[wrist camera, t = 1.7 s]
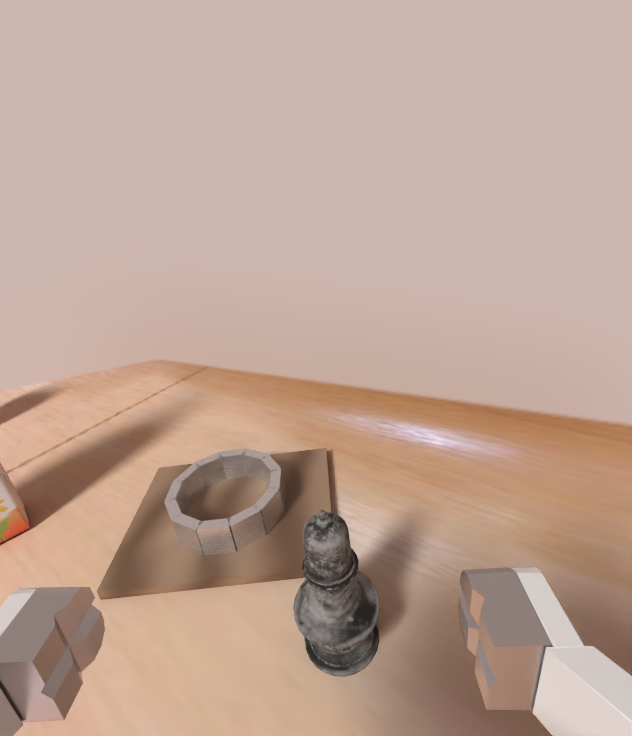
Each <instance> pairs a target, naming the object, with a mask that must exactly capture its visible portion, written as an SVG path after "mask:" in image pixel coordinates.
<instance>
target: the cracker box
mask: <svg viewBox="0 0 632 736" xmlns="http://www.w3.org/2000/svg"><path fill="white" fill-rule="evenodd" d="M28 528H30V525H29V521H28V518H27V515H26V511H25V507H24V503H23V501H22V500H21V498H20V496H19V494H18V493H17V491H16V489H15V487H14V486H13V484H12V482H11V481H10V479H9V477H8V475H7V473H6V472H5V470H4V468H3V466H2V465H1V463H0V543H2V542H4V541H6V540H8V539H10V538H12V537H13V536H15V535H17V534H19V533H21V532H23V531H25V530H27V529H28Z"/></svg>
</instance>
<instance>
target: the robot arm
mask: <svg viewBox="0 0 632 736" xmlns="http://www.w3.org/2000/svg"><path fill="white" fill-rule="evenodd" d="M460 584H461V587H462V590H463V594H462V595H461V596H460V597H459V617H460V624H461V629H462V633H463V637H464V640H465V644H466V647H467V649H468V650H469V651H470V652H471V653H472V654H473V655H474V656H475V669H474V673H475V676H476V679H477V682H478V685H479V688H480V691H481V694H482V698H483V701H484V704H485V707H486V710H533V714H534V715H535V716H536V717H537V719H538V720H539V721H540V722H541V723H542V724H543V725H544V727H545V728H546V729H547V730H548V731H549V732H550V734H551V735H552V736H632V676H631V675H630V674H629V673H628V672H626V671H625V670H624V669H622V668H621V667H620V666H618V665H617V664H616V663H615V662H613V661H612V660H611V659H609V658H608V657H607V656H606V655H604V654H603V653H602V652H600V651H599V650H598V649H597V648H595V647H594V646H585V645H584V644H583V642H582V640H581V638H580V637H579V635H578V633H577V632H576V630H575V628H574V626H573V625H572V623H571V621H570V620H569V618H568V616H567V614H566V613H565V611H564V609H563V608H562V606H561V604H560V602H559V601H558V599H557V597H556V596H555V594H554V592H553V590H552V589H551V587H550V585H549V584H548V582H547V580H546V578H545V577H544V575H543V573H542V572H541V571H540V570H539V569H538V568H537V567H524V568H511V569H510V568H494V569H476V570H463V571H462V573H461V579H460ZM94 599H95V597H94V595H93V593H92V591H91V589H90V587H55V588H20V589H18V590H17V591H15V592H14V593H12V594H11V595H10V596H9V597H8V598H7V600H6V601H5V602H4V603H3V605H2V606H1V607H0V736H13V735H14V734H15V733H16V732H17V731H18V730H19V729H20V728H21V727H22V726H23V723H22V722H36V721H53V720H65V718H66V716H67V714H68V712H69V710H70V708H71V706H72V704H73V702H74V700H75V698H76V696H77V694H78V692H79V690H80V688H81V686H82V684H83V679H82V671H83V670H84V669H85V668H86V667H87V666H88V665H90V664H91V663H92V662H93V661H94V660H95V658H96V656H97V654H98V651H99V649H100V647H101V645H102V640H103V636H104V631H105V627H104V618H103V616H102V613H101V611H99V610H98V609H96V608H95V607H94V606H92V605H91V604H92V602H93V601H94Z"/></svg>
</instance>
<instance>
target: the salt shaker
mask: <svg viewBox="0 0 632 736" xmlns="http://www.w3.org/2000/svg"><path fill="white" fill-rule="evenodd" d="M302 539H303V545H304V550H305V558H304V560H303V563H302V571H303V575H304V577H305V579H306V580H305V581H304V582H303V584H302V585H301V586H300V588H299V590H298V592H297V594H296V597H295V602H294V616H295V621H296V623H297V626H298V628H299V630H300V632H301V633H302V634H303V635H304V636H305V645H306V650H307V653H308V655H309V657H310V659H311V661H312V662H313V663H314V664H315V666H316V667H317V668H319V669H320V670H322V671H323V672H325V673H327V674H330V675H333V676H349V675H353V674H356V673H357V672H359V671H361V670H362V669H364V668H365V667H366V666H367V665H368V664H369V663H370V662H371V661H372V659H373V657H374V655H375V653H376V651H377V646H378V642H379V640H378V629H377V625H376V623H377V620H378V616H379V612H380V602H379V596H378V593H377V590H376V588H375V586H374V585H373V583H372V582H371V580H370V579H369V578H368V577H367V576H365V575H364V574H363V573H362V572H360V571H358V558H357V555H356V554H355V552H354V551H353V549H351V547H350V539H349V531H348V527H347V525H346V523H345V521H344V520H343V519H342V518H341V517H340V516H338V515H336V514H334V513H330V512H326V511H324V510H320V511H319V512H318V513H317V514H316V515H314V516H312V517H311V518H310V519H309V520H308V521H307V522H306V523H305V525H304V527H303V531H302Z"/></svg>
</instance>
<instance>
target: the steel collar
mask: <svg viewBox="0 0 632 736" xmlns="http://www.w3.org/2000/svg"><path fill="white" fill-rule="evenodd" d="M240 477H252V478H255V479H258V480H262V481H265V482H267V483H268V485H269V488H268V490H267V491H266V492H265V493H264V494H263V495H262V497H261V498H260V499H259V500H258V501H257V502H256V503H255V505H253V506H252V507H250V508H248V509H246V510H244V511H242V512H240V513H238V514H236V515H234V516H232V517H230V518H225V519H216V520H207V521H200V520H197V519H195V518H192V517H189V516H187V515H186V514H187V511H188V508H189V505H190V504H191V503H192V502H193V501H194V500H195V499H196V498H197V497H198V496H199V495H200V494H201V493H202V492H203V491H204V490H205V489H206V488H209V487H211V486H213V485H215V484H217V483H219V482H222V481H224V480H226V479H232V478H240ZM285 496H286V490H285V486H284V481H283V476H282V471H281V467H280V466H279V465H278V464H277V463H276V462H275V461H274V460H273V459H272V457H271V456H270V455H268V454H266V453H262V452H258V451H254V450H250V449H240V450H231V451H223V452H221V453H220V452H218V453H216V454H214V455H211V456H209V457H207V458H204V459H202V460H200V461H197V462H195V464H194V463H193V464H192V465H191V466H190V467H189V468H188V469H186V470H185V471H184V472H183V473H182V474H181V475H179V476H178V477H177V478H176V479H175V480H174V481H173V482H172V485H171V487H170V489H169V492H168V494H167V496H166V499H165V501H164V503H165V506H166V508H167V511H168V514H169V516H170V519H171V522H172V524H173V527H174V530H175V532H176V535H177V537H178V540H179V543H180V544H181V545H182V546H184V547H186V548H189V549H191V550H193V551H196V552H198V553H200V554H202V555H204V554H205V555H211V554H220V553H229V552H236V550H237V551H239V550H241V549H243V548H245V547H246V546H248V545H250V544H252V543H254V542H256V541H257V540H259V539H261V538H263V537H265V536H266V534H268V533H269V532H270V531H271V529H272V528H273V527H274V526H275V524H276V523H277V522H278V520H279V519H280V518H281V516H282V515H283V514H284V512H285Z"/></svg>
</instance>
